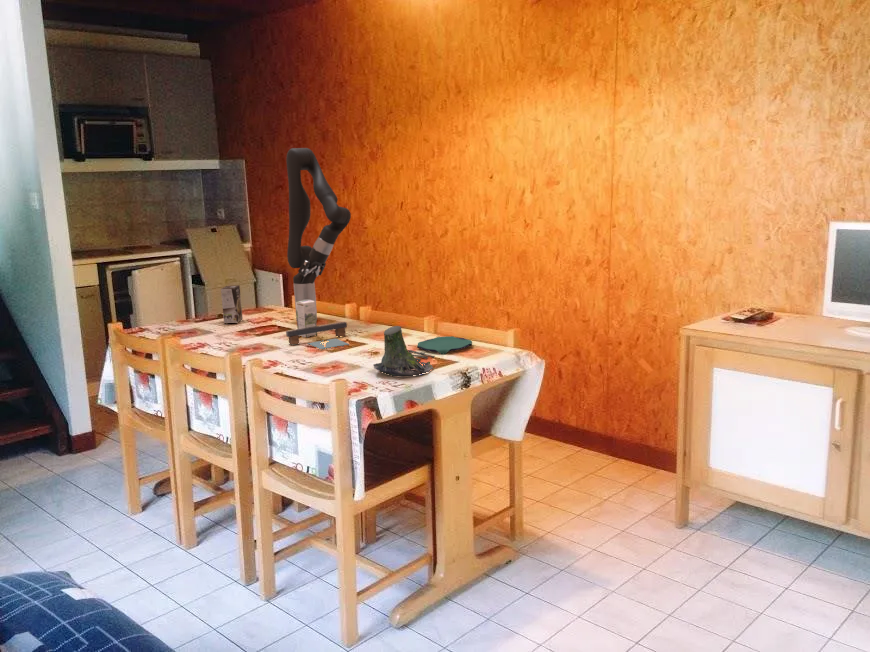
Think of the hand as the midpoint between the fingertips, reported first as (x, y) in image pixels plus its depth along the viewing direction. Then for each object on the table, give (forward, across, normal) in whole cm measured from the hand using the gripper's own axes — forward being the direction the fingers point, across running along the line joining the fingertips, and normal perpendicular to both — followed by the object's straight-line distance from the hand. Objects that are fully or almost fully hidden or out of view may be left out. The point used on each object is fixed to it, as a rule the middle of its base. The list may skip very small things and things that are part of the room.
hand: (304, 282), depth 320 cm
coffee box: (+37, -4, -25) cm, 45 cm away
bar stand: (+11, +16, +26) cm, 32 cm away
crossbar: (+8, +16, +24) cm, 30 cm away
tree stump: (-11, +45, +75) cm, 88 cm away
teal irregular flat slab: (-14, +17, +71) cm, 75 cm away
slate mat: (+7, +21, +34) cm, 41 cm away
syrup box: (+14, +10, +18) cm, 26 cm away
